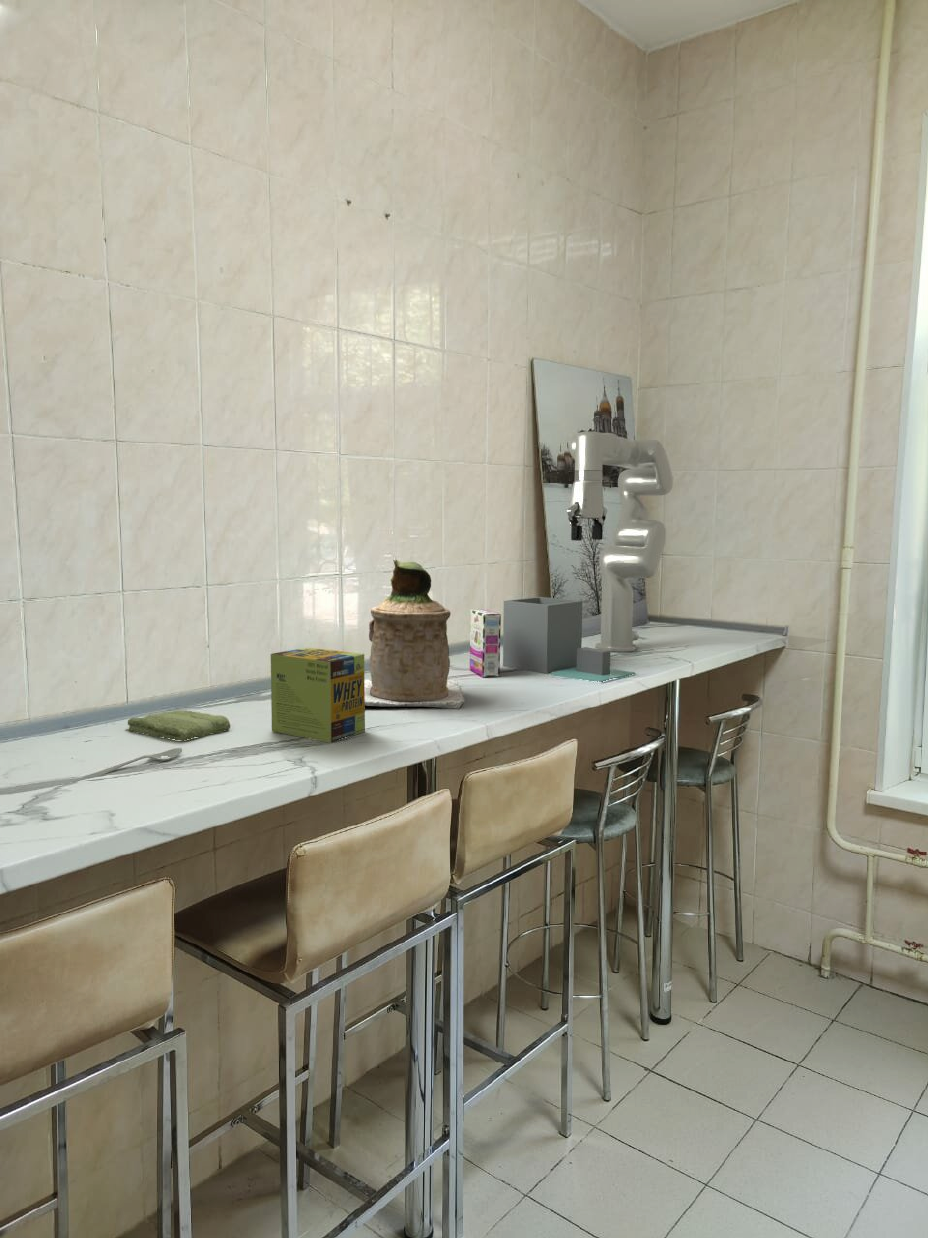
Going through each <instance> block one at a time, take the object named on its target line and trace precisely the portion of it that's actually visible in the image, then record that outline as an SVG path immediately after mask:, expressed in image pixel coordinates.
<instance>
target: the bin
mask: <svg viewBox="0 0 928 1238" xmlns="http://www.w3.org/2000/svg"><path fill="white" fill-rule="evenodd" d="M502 615H503V618H502V619H503V620H502V622H503V623H502V631H503V632H502V633H503V634H502V667H504V668H505V667H506V668H510V669H511V668H512V669H518V670H523V671H530V672H534V673H540V674H551V672H555V671H559V670H564V669H569V668H573V667H577V649H578V648H582V639H583V638H582V636H583V635H582V634H583V600H576V599H575V600H574V599H566V598H565V599H564V598H555V597H545V596H535V597H534V596H533V597H525V598H518V599H517V598H516V599H509V600H503V614H502Z"/></svg>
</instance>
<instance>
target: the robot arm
mask: <svg viewBox="0 0 928 1238" xmlns="http://www.w3.org/2000/svg"><path fill="white" fill-rule="evenodd" d="M568 449H569V454H570V456H571V457H572V458H573V459H574V482H572V486H571V487H572V488H571V492H570V500H569V501H570V502H569V503H570V505H569V508H568V509H567V510H566V513H567V517H568V520H569V522H570V523H569V525H570V526H571V531H570V532H571V534H570V536H571V537H570V539H571V541H578V542H579V541H581V542H582V540H583V525H582V523H583V521H584V520H589V519H591V520H592V524H593V525H591V531H592V532H591V539H592V540H598V541H599V540H600V541H601V540H603V535H604V534H603V532H604V531H603V526H604V525H605V520H606V518H607V513H608V509H607V508H606V507H605V506H604V490H603V489H604V488H603V465H605V466H613V467H620V468H624V469H625V470H622V472H620V474H619V475H618V479H617V489H618V494H619V500H620V505H621V512H620V515H619V517H618V520H617V523H616V526H615V529H614V533H613V539H612V540H613V544H614V545H611V546H607V547H605V548H604V549H602V550H601V552H600V554H599V567H600V568H599V570H600V575H601V608H600V609H601V611H600V612H601V615H600V618H601V619H600V642H598V643H596V644H595V647H594V648H595V649H602V650H609V651H611V653H612V652H614V653H615V652H617V653H619V652H620V653H622V652H624V653H625V652H626V653H627V652H634V651H637V649H638V645H636V644H634V641H638V640H639V639H640V636H639V635H638V633H635V634H634V633H633V624H634V623H633V620H634V619H633V618H634V617H633V616H634V615H633V613H634V590H633V587H632V585H631V584H630V582H629V581H628V580H627V579H651V578H652V577H654V576H655V574H656V573H657V571H658V567H659V566H660V565H659V564H660V562H661V558H662V555H663V552H664V549H665V546H666V541H667V530H666V529H667V528H666V527H665V524H664V523H663V522H662V521H660V520H657V519H648V518H649V515H650V513H649V510H648V507H647V506H646V504H645V503H644V502H643V501H642V500H641V499H640V498H639V496H647V497H648V496H650V497H651V496H654V497H655V496H661V497H662V496H666V495H668V494H670V492H672V489H673V485H674V479H673V478H674V477H673V473H672V469H671V466H670V463H669V459H668V455H667V452H666V449H665V447H664V446H663V444H662V442H660V441H659V440H656V439H648V440H647V439H646V440H632V439H629V438H626V437H622V436H618V435H617V434H615V433H612V432H599V431H581V432H578V433H577V434H575V435H573V436H572V438H570V442H569V447H568Z"/></svg>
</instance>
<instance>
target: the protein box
mask: <svg viewBox="0 0 928 1238" xmlns="http://www.w3.org/2000/svg"><path fill="white" fill-rule="evenodd" d="M364 679H365V653H360V652H351V651H350V652H349V651H341V650H336V649H335V650H333V649H324V648H315V647H302V648H297V649H291V650H284V651H280V652H279V651H278V652H273V653H270V691H271V692H270V693H271V695H270V698H271V699H270V700H271V703H270V704H271V709H270V710H271V732H274V733H279V734H284V735H287V736H288V735H289V736H295V737H299V738H303V737H305V739H308V738H311V739H310V740H313V739H316V740H315V741H318V740H320V741H319V742H324V741H325V742H324V743H328V742H332V743H335V742H337V740H338V741H340V740H343V739H346V738H349V737H352V736H355V735H357V734H359V735H360V734H362V733H364V732H366V713H365V712H366V707H365V683H364ZM345 737H346V738H345ZM342 738H343V739H342ZM339 739H340V740H339ZM334 741H335V742H334Z"/></svg>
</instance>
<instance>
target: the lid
mask: <svg viewBox="0 0 928 1238" xmlns="http://www.w3.org/2000/svg"><path fill="white" fill-rule="evenodd" d="M611 653H612V651H609V650H602V649H596V648H595V647H594V648H593V647H588V646H587V647H586V646H583V647H581V648H578V649H577V667H573V668H569V669H564V670H559V671H555V672H551V673H550V675H551V676H555V677H564V678H568V679H573V678H574V679H575V680H579V679H582V680H581V681H585V680H589V681H588V682H591V681H597V682H598V681H599V682H603V681H606V680H609V679H613V678H620V679H622V678H621V677H624V678H626V677H625V676H628V677H630V676H629V675H632V674H635V675H636V672H634V671H628V670H624V669H622V670H621V669H617V668H611V656H612V655H611ZM632 676H633V675H632Z"/></svg>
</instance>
